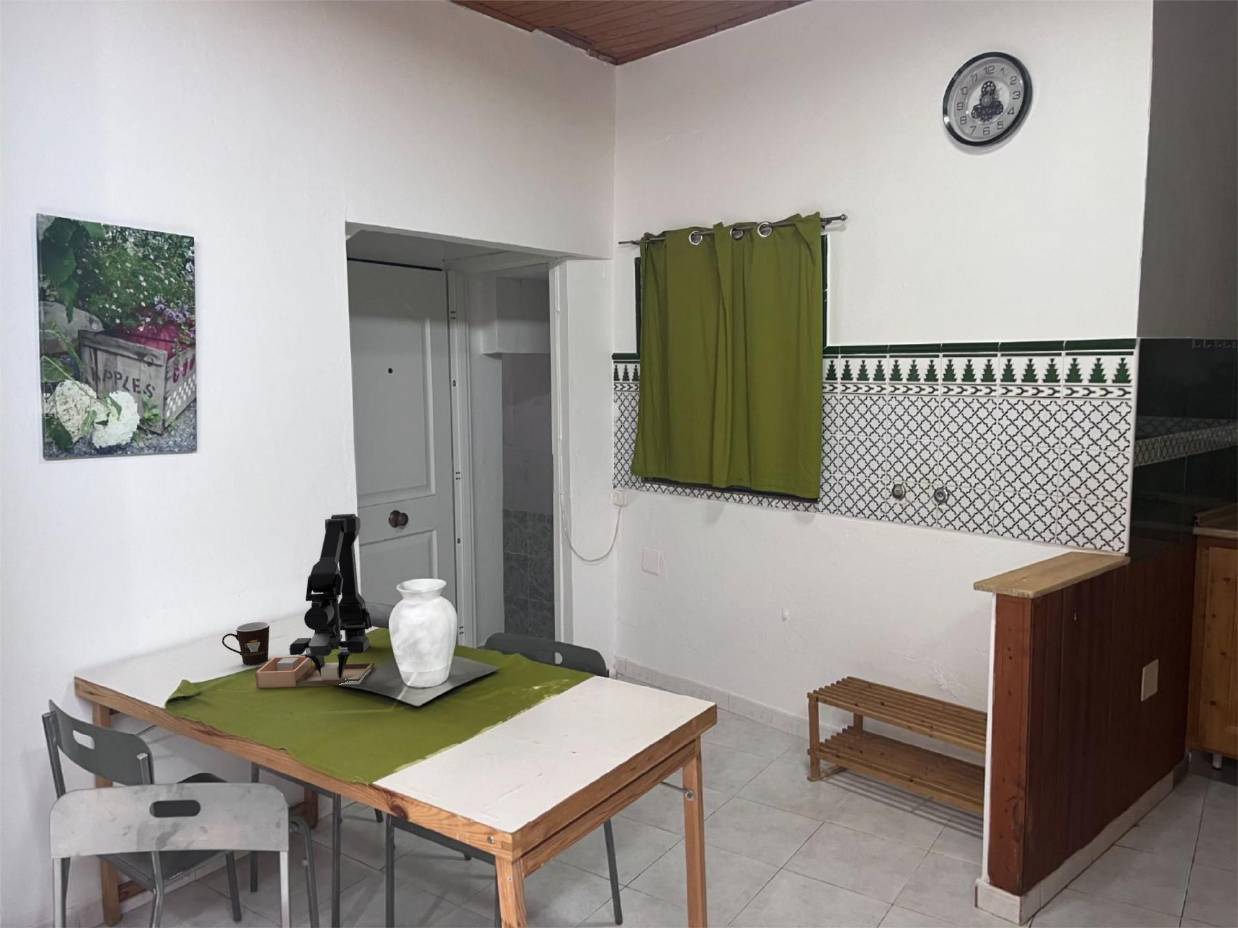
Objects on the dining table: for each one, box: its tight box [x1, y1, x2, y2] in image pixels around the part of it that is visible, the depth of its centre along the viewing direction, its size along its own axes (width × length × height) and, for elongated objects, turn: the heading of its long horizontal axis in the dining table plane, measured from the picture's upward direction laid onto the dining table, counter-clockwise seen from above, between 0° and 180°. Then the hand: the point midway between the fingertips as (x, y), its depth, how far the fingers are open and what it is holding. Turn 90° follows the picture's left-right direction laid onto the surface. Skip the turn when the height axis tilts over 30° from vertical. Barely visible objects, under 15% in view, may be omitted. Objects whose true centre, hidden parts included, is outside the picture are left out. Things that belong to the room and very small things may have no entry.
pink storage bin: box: [255, 655, 313, 689], centre depth 231 cm, size 12×10×4 cm
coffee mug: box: [221, 621, 270, 666], centre depth 248 cm, size 12×9×10 cm
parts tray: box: [296, 662, 375, 688], centre depth 232 cm, size 13×16×2 cm
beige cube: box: [321, 662, 343, 680], centre depth 229 cm, size 4×4×4 cm
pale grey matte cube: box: [277, 658, 299, 671], centre depth 234 cm, size 4×4×4 cm
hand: (332, 677), depth 229 cm, fingers closed on beige cube, 4 cm apart
